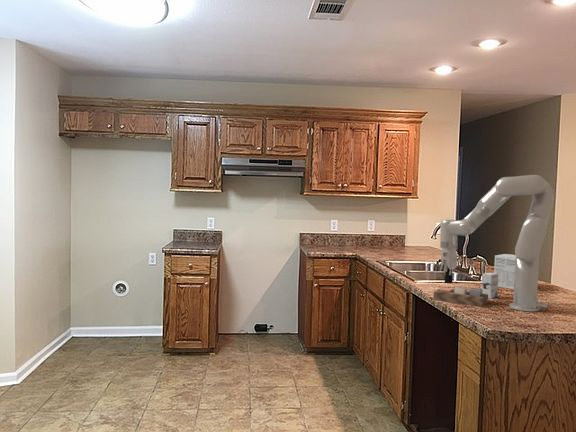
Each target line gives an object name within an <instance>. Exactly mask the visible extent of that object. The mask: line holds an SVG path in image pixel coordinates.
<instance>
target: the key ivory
mask: <svg viewBox="0 0 576 432" xmlns="http://www.w3.org/2000/svg"><path fill="white" fill-rule="evenodd" d="M454 290H455V291H454V293H457V294H464V295H465V294H467V291H468V287H465V286H464V287H463V286H455V287H454Z"/></svg>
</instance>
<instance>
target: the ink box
mask: <svg viewBox="0 0 576 432" xmlns="http://www.w3.org/2000/svg"><path fill="white" fill-rule="evenodd" d="M481 289H483V294H488V299H493V298H497V297H498V289H499V287H498V273H494V272H486V273H482V279H481Z"/></svg>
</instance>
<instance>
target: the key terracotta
mask: <svg viewBox="0 0 576 432" xmlns="http://www.w3.org/2000/svg"><path fill="white" fill-rule="evenodd" d="M441 288H442V289H441ZM441 288H439V289H440V291H443V292H452V289H453V288H447V287H446V288H445V287H441Z"/></svg>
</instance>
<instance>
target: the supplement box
mask: <svg viewBox="0 0 576 432" xmlns="http://www.w3.org/2000/svg"><path fill="white" fill-rule="evenodd" d="M515 259H516V254H510V253H509V254H508V253H503V254H497V255H494V269H493V273H498V288H503V289H509V290H514V276H515Z"/></svg>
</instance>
